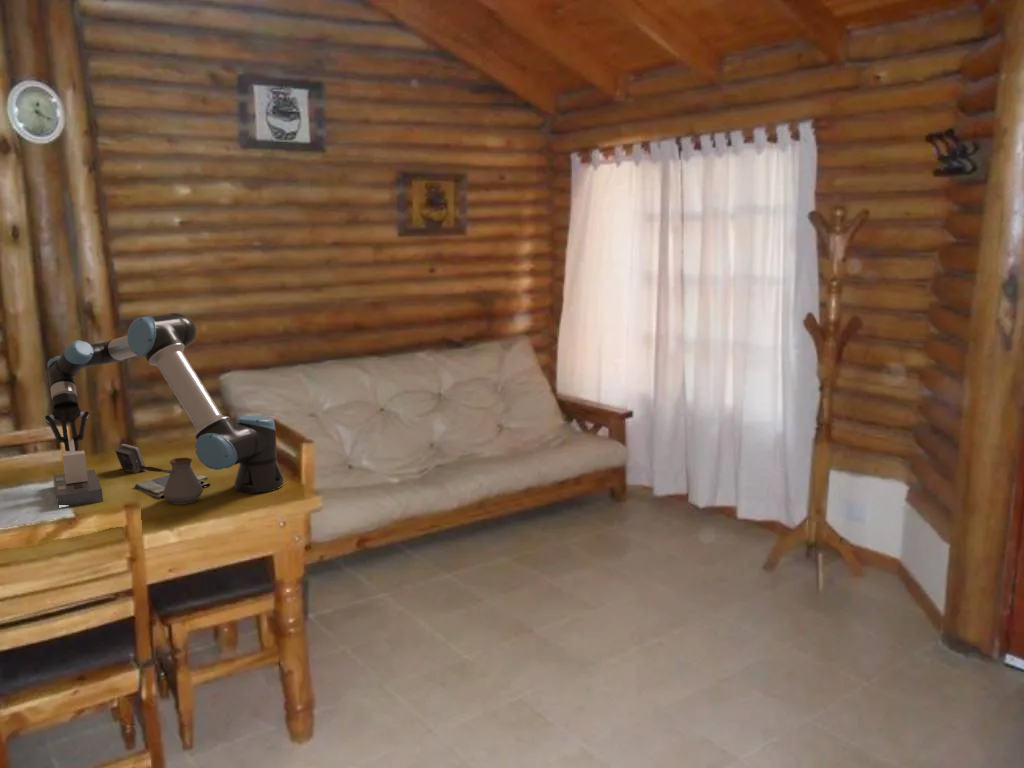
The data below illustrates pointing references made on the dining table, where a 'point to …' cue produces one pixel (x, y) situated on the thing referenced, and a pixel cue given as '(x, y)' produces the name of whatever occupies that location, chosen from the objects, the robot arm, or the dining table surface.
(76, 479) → the handle
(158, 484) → the dish towel
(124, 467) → the electrical switch
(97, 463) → the dining table surface
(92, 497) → the box
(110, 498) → the dining table surface
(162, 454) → the dining table surface
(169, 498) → the coffee pot
